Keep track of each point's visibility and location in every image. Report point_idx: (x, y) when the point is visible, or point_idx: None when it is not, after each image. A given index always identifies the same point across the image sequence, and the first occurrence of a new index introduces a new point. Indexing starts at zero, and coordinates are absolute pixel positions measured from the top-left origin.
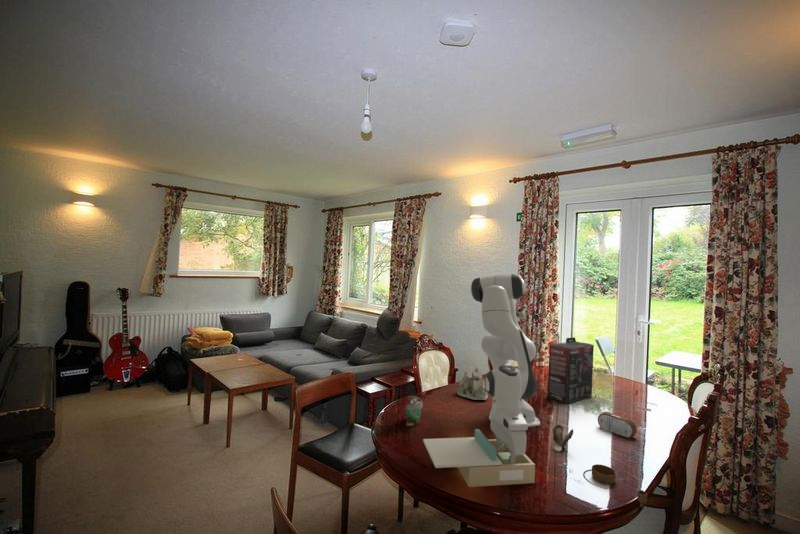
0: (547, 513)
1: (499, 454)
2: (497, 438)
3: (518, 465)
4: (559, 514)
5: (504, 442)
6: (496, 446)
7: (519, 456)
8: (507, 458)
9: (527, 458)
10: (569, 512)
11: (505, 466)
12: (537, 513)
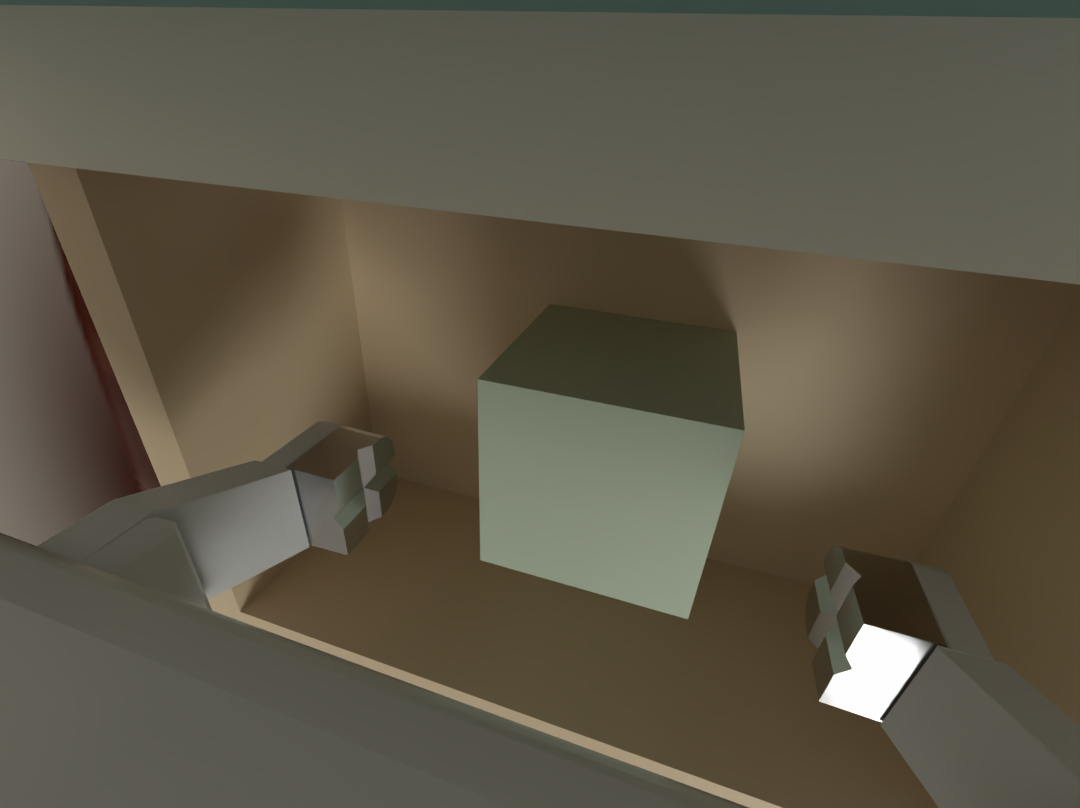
0: (92, 341)
1: (658, 436)
2: (1068, 803)
3: (148, 446)
4: (108, 406)
5: (184, 698)
6: (1070, 604)
7: (547, 645)
8: (494, 473)
9: (341, 657)
10: (143, 470)
11: (64, 224)
12: (67, 272)
